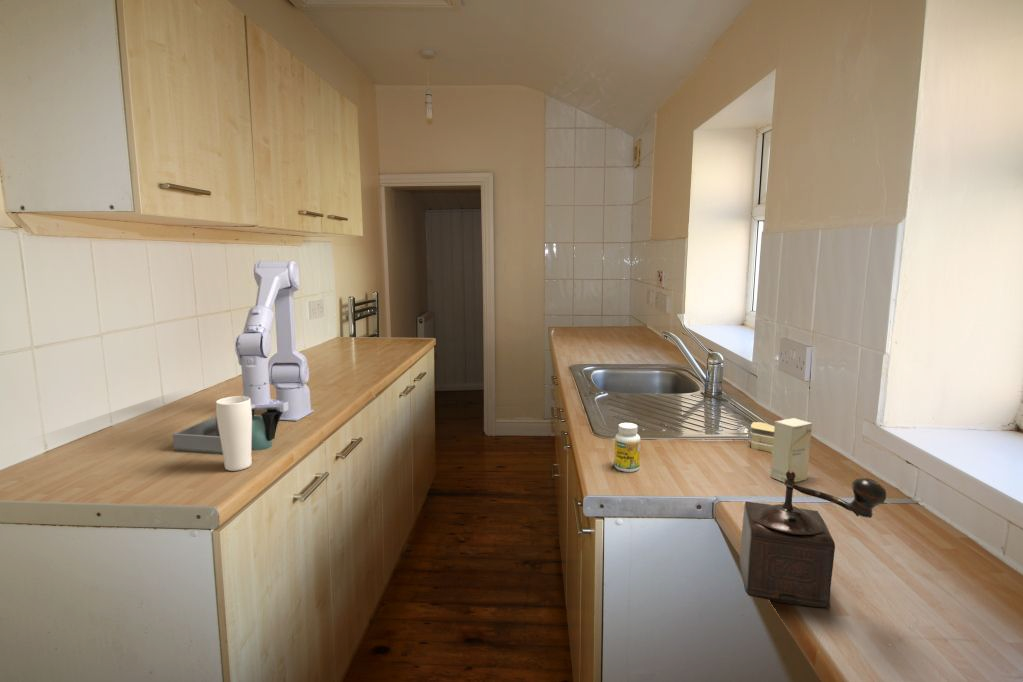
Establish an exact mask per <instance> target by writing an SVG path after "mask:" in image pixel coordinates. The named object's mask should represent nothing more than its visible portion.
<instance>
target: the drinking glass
mask: <svg viewBox="0 0 1023 682" xmlns="http://www.w3.org/2000/svg"><path fill="white" fill-rule="evenodd" d="M215 413H216V414H215V416H216V417H217V424H218V430H219V435H220V440H221V446H222V451H223V454H222V456H223V464H224V468H225V470H227V471H230V472H236V471H237V472H238V471H242V470H247V469H248V468H250V467H251V466H252V464H253V458H252V451H253V450H252V407H251V399H250V398H249V397H246V396H244V395H239V396H238V395H236V396H235V395H234V396H228V397H227V396H226V397H223V398H219V399H217V400H216V401H215Z"/></svg>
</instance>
